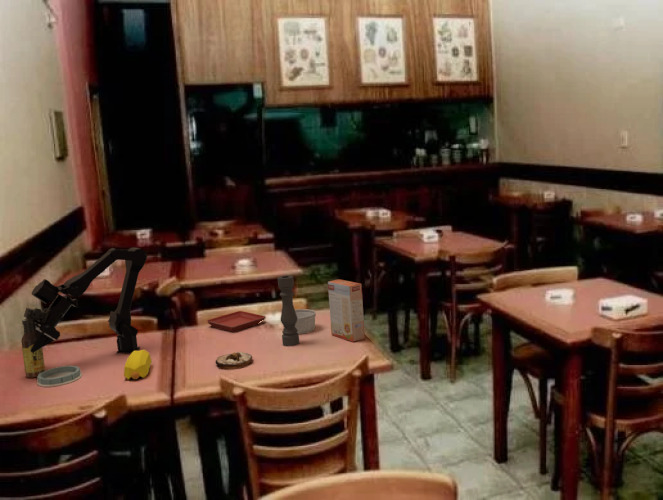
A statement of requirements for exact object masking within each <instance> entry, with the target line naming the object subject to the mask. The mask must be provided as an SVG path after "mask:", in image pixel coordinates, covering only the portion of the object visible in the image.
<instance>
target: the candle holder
mask: <svg viewBox="0 0 663 500" xmlns="http://www.w3.org/2000/svg"><path fill="white" fill-rule="evenodd" d="M294 285H295V282H294V275H291V274H290V275H281V276H278V277H277V286H278V289H279V290H280V293H279V297H281V303H282V306H281V314H280V322H281V324H282V326H283V330H282V332H281V333H282V334H281V340H282V341H281V343H282V346H284V347H295V346H298V345H299V344H300V334H298V333H297V332H298V330H297V329H296V327H295V326H296V325H295V324H296V322H297V315H296V312H295V310H296V309H295V307H294V301H293V296H294V295H295V292H294V291H293V289H294Z"/></svg>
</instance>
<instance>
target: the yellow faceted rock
mask: <svg viewBox="0 0 663 500" xmlns="http://www.w3.org/2000/svg"><path fill="white" fill-rule="evenodd" d="M152 360H153V359H152V358H151V354H150V352H148V351H147V350H145V349H141V350H136V351H133V352H132V353H129V356H127V359H126V362H125V364H124V367H123V368H124V369H123V377H125V378H126V379H127V380H128V381H129V380H131V379H133V380H138V379H139V378H143V379H144V378H145V377H146V376H147V375H148V374H149V371H150V367H151V364H152V362H153V361H152Z"/></svg>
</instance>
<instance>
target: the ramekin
mask: <svg viewBox="0 0 663 500" xmlns="http://www.w3.org/2000/svg"><path fill="white" fill-rule="evenodd" d="M295 312H296V315H297V322H296V324H295V325H296V326H295V327H296V329H297V330H298V332H297V333H298V334H299V335H302V334H303V335H304V334H308V333H311V332H313V331H314V329H315V328H316V315H317V314H316V311H315V310H313V309H307V308H306V309H305V308H298V309H295Z"/></svg>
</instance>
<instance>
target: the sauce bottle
mask: <svg viewBox="0 0 663 500" xmlns="http://www.w3.org/2000/svg"><path fill="white" fill-rule="evenodd" d="M21 322H22V323H21V324H22V325H23V326H22V327H23V336H22V337H21V346H22V347H21V352H22V358H23V359H22V360H23V366H24V373H25V376H26V378H31V379H33V378H37V376H38V375H39V373H41V372H43V371H45V370H46V367H45V358H44V351H43V350H44V349H43V347H42V348H40V349H39V350H37V351H35V352H34V353H32V352H31V351H30V350H31V348H32V347H33V345H34V343H35V341H36V339H37V338H38V333H37V331H36V327H35V319H27V318H23V319H21Z"/></svg>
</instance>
